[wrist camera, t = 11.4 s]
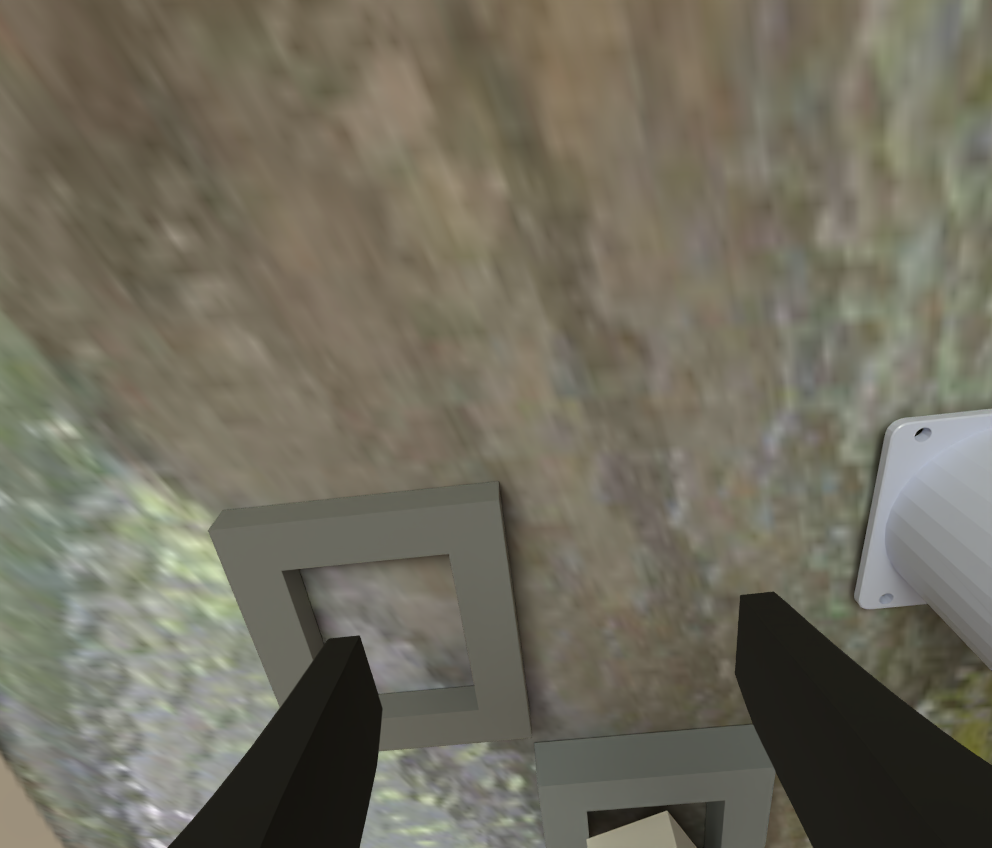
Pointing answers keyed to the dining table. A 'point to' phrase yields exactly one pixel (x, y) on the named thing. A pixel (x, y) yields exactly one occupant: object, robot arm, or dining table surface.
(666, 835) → the plug
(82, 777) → the dining table surface
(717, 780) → the port
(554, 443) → the dining table surface
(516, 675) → the square frame plate
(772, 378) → the dining table surface
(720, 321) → the dining table surface
